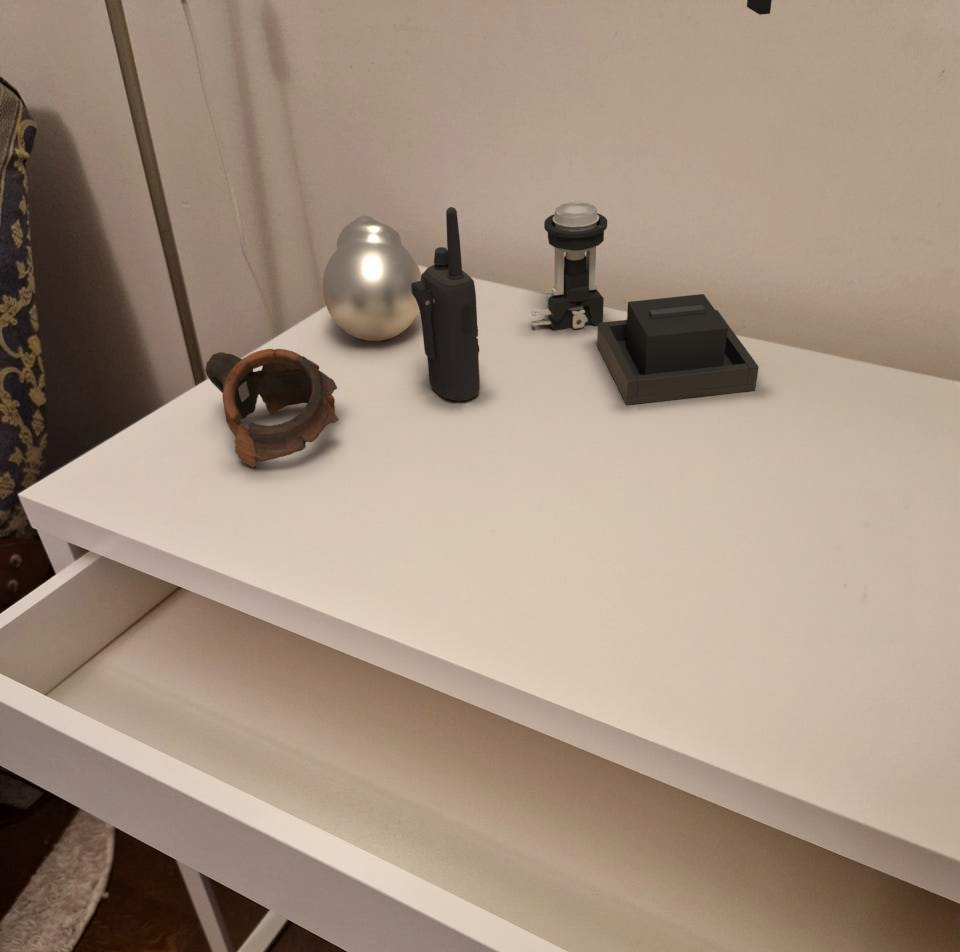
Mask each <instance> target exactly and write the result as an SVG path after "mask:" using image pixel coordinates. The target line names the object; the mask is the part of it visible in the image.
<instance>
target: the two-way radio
mask: <svg viewBox="0 0 960 952" xmlns="http://www.w3.org/2000/svg"><path fill="white" fill-rule="evenodd" d="M445 217H446V220H445V221H446V223H445V224H446V245H447V247H443V246H439V247H436V248H435V249H434V257H433V265H430V266H428V267H427V268H426V269H425V270H424V271H423V272H422V273H421V281H417V282H413V283H412V284H411V290H412V294H413V296H414V297H415V299H416V301H417V304H418V307H419V315H420V323H421V331H422V337H423V339H422V340H423V348H424V354H425V355H426V359H427V368H428V380H429V385H430V386H431V388H432V389H433V390H434V391H435V392H436V393H438V394H439V395H440V396H442V397H443V398H445V399H447V400H452V401H455V402H459V401H461V402H463V401H467V400H470V399H473V398H475V397H476V396H477V395H478V394H479V393H480V390H481V389H480V387H481V386H480V385H481V383H480V382H481V381H480V363H479V362H480V361H479V356H480V355H479V353H480V345H479V339H478V337H479V326H478V310H477V309H478V308H477V294H476V293H477V292H476V285H475V281H474V279H473V278H472V277H471V276H470V275H469V274H468V273H467V272H465V271H464V270H463V263H462V251H461V240H460V239H461V238H460V230H459V219H458V211H457V209H456V207H453V206H450V207H448V208H446V211H445Z"/></svg>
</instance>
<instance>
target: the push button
mask: <svg viewBox="0 0 960 952" xmlns="http://www.w3.org/2000/svg"><path fill="white" fill-rule="evenodd" d="M543 223H544V227H543V228H544V230H545V231H546V232H547V240H548V244H549V245H550V246H551V247H553V248H554V287H551V293H548V294H547V295H546V308H541V309H540V310H533V311H531V312H530V314H531V316H532V317H537V316H543V315H544V316H546V317H545V318H541V319H537V320H532V321H530V323H531V325H532V326H533V327H534V326H540V325H542V326H543V325H544V326H546V325H549V326H550V327H551V328H552V330H554V331H557V330H564V329H570V328H573V329H581V328H584V326H589V325H593V326H598V323H600V322H604V302H605V301H604V299H605V298H604V296H603V295H602V294H601V293H600V292H599V290H598V282H596V263H597V247H598V246H600V245H602V243H603V242H604V241H605V238H604V237H605V231H606V230H607V228H608V219H607V218H606V217H605V216H604V215H603V214H601V213H598V208H597V206H595V205H594V204H591V203H588V202H582V201H578V202H576V201H575V202H567V203H563V204H560V205H559V206H556V207H555V209H554V213H553V214H551V215H549V216H547V217H546V219H545V220H544V222H543Z"/></svg>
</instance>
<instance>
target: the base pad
mask: <svg viewBox="0 0 960 952" xmlns="http://www.w3.org/2000/svg"><path fill="white" fill-rule="evenodd" d="M715 310H716V312H717V313H718V315H719V316H720V317H721V319H722V320H723V322H724V323H725V324H726V326H727V327H728V332H727V340H726V347H725V355H724V363H723V366H718V367H709V368H700V369H691V370H682V371H673V372H664V373H656V374H647V375H641V374H640V372H639V371H638V369H637V367H636V365H635V363H634V361H633V359H632V357H631V355H630V353H629V352H628V350H627V348H626V328H627V319H621V320H613V321H603V322H600V323H598V325H597V334H596V338H597V339H596V346H597V348H598V350H599V352H600V354H601V356H602V358H603V360H604V362H605V364H606V366H607V368H608V370H609V372H610V374H611V376H612V378H613V380H614V382H615V384H616V386H617V388H618V390H619V393H620V395H621V396H622V399H623V400H624V403H625V404H626V406H629V405H638V404H648V403H656V402H665V401H673V400H682V399H690V398H691V399H692V398H701V397H707V396H708V397H709V396H717V395H724V394H725V395H726V394H734V393H743V392H752V391H756V387H757V380H758V374H759V367H760V366H759V365H758V363H757V362H756V361H755V359H754V358H753V356H752V355H751V354H750V353H749V351H748V350H747V348H746V347H745V346H744V344H743V343H742V342H741V340H740V339H739V337H738V336H737V335H736V334H735V332H734V330H733V329H732V328H731V326H730V325H729V324H728V322H727V321H726V320H725V319H724V317H723V315H722V314H721V313H720V312H719V310H718V309H715Z"/></svg>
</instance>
